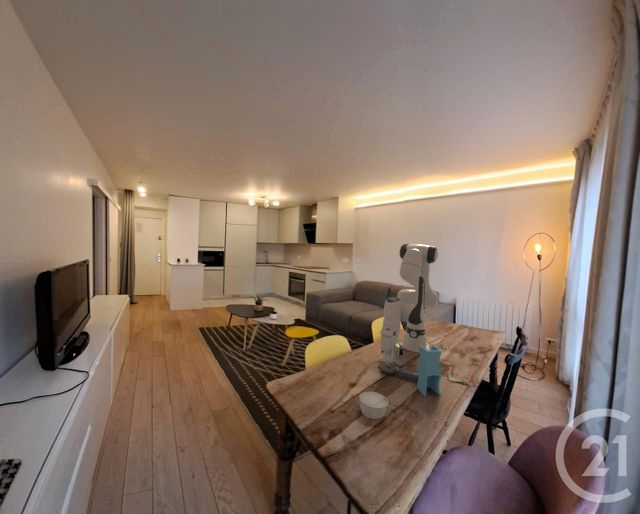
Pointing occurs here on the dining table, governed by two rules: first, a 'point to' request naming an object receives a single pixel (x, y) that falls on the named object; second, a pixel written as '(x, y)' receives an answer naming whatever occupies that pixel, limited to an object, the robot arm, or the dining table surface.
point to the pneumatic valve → (398, 353)
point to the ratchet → (398, 371)
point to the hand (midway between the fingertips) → (389, 355)
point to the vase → (429, 369)
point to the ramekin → (373, 404)
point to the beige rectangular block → (391, 354)
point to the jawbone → (451, 377)
